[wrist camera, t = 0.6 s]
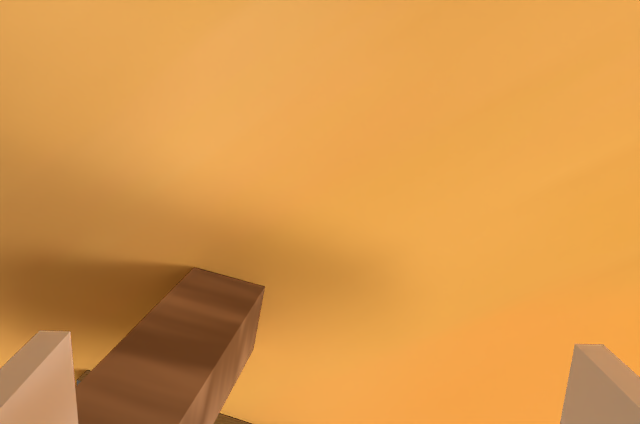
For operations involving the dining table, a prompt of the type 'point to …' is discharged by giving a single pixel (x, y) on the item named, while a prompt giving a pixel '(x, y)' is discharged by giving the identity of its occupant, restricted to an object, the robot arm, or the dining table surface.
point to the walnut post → (177, 356)
